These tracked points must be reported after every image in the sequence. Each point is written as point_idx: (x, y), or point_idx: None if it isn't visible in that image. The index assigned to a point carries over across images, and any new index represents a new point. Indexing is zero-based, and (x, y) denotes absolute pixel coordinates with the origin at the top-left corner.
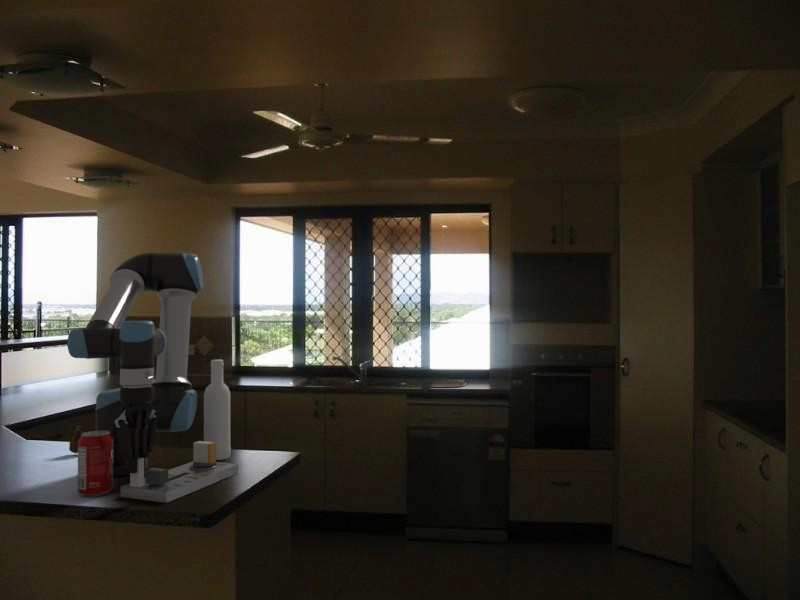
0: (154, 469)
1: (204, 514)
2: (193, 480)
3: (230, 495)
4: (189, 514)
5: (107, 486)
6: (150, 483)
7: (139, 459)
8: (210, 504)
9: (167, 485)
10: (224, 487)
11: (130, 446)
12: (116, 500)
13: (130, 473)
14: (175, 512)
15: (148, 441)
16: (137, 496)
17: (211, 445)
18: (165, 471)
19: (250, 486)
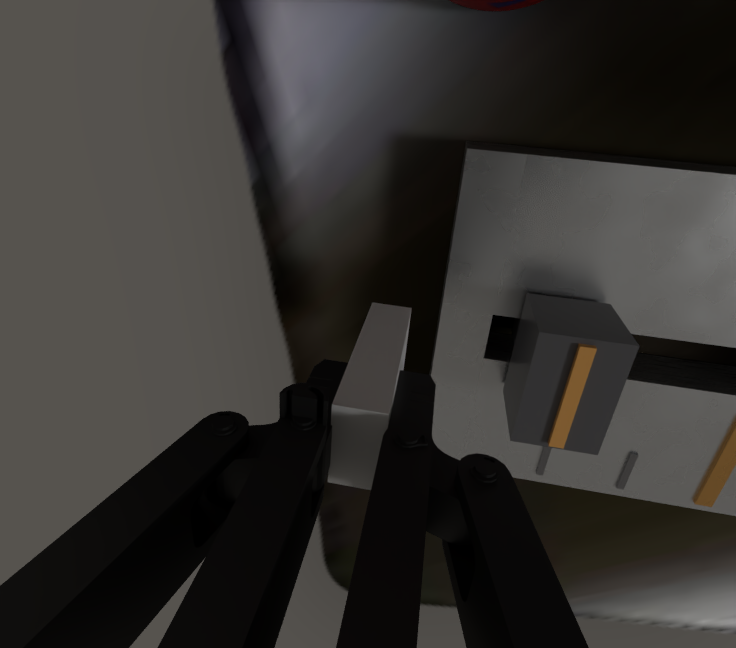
0: (568, 384)
1: (340, 582)
2: (651, 489)
3: (568, 594)
4: (324, 546)
5: (486, 7)
6: (519, 332)
7: (330, 482)
8: (443, 568)
9: None
10: (698, 547)
11: (179, 572)
12: (397, 168)
13: (356, 342)
14: (327, 502)
15: (465, 610)
16: (445, 273)
17: None
18: (567, 444)
19: (715, 624)
